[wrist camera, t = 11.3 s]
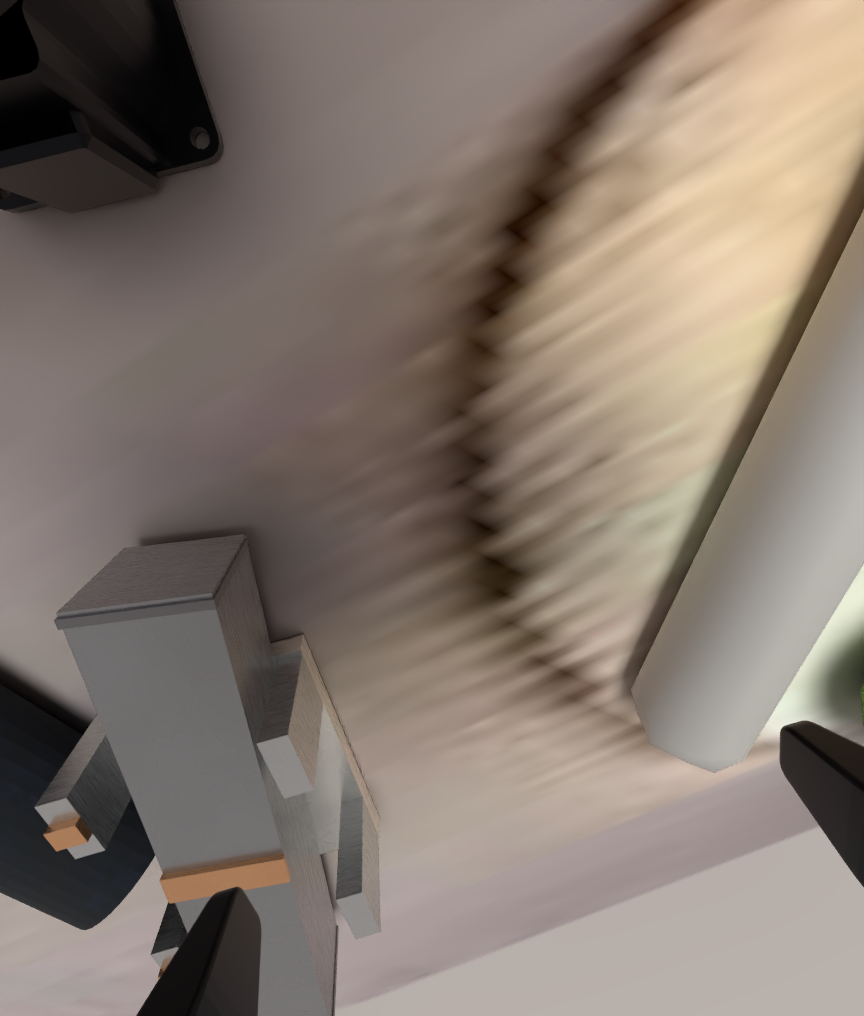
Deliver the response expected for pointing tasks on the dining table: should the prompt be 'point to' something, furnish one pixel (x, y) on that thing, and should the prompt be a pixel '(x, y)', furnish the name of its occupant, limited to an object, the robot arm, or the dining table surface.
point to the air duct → (207, 749)
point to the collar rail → (294, 766)
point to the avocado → (862, 702)
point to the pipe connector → (19, 827)
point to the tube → (770, 548)
